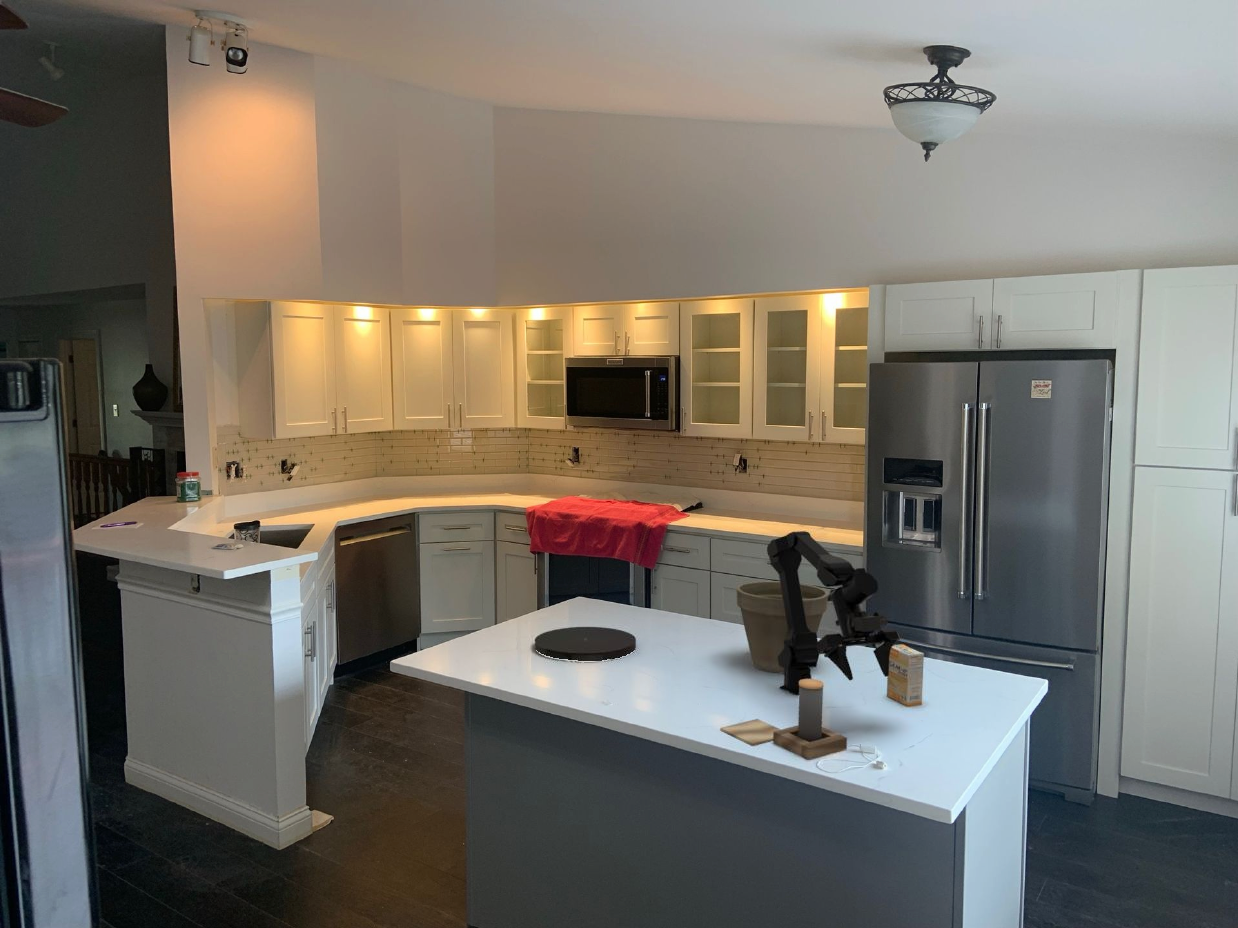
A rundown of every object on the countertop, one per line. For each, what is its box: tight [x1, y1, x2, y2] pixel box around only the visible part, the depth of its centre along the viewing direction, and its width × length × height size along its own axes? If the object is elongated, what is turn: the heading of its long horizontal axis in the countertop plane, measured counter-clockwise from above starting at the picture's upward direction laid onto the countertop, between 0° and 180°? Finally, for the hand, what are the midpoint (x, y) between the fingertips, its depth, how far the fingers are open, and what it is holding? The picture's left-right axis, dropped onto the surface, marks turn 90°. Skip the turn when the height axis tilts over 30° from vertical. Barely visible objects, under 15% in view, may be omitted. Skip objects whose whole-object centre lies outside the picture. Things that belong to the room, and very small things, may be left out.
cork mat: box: [719, 718, 781, 747], centre depth 208 cm, size 11×11×1 cm
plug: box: [797, 678, 825, 742], centre depth 201 cm, size 5×5×14 cm
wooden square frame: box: [772, 724, 848, 761], centre depth 201 cm, size 11×11×2 cm
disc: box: [534, 626, 637, 661], centre depth 276 cm, size 30×30×3 cm
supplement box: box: [886, 644, 925, 707], centre depth 230 cm, size 8×5×13 cm, turn 21°
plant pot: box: [736, 580, 829, 674], centre depth 259 cm, size 25×25×22 cm
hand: (869, 677), depth 208 cm, fingers open, 9 cm apart
